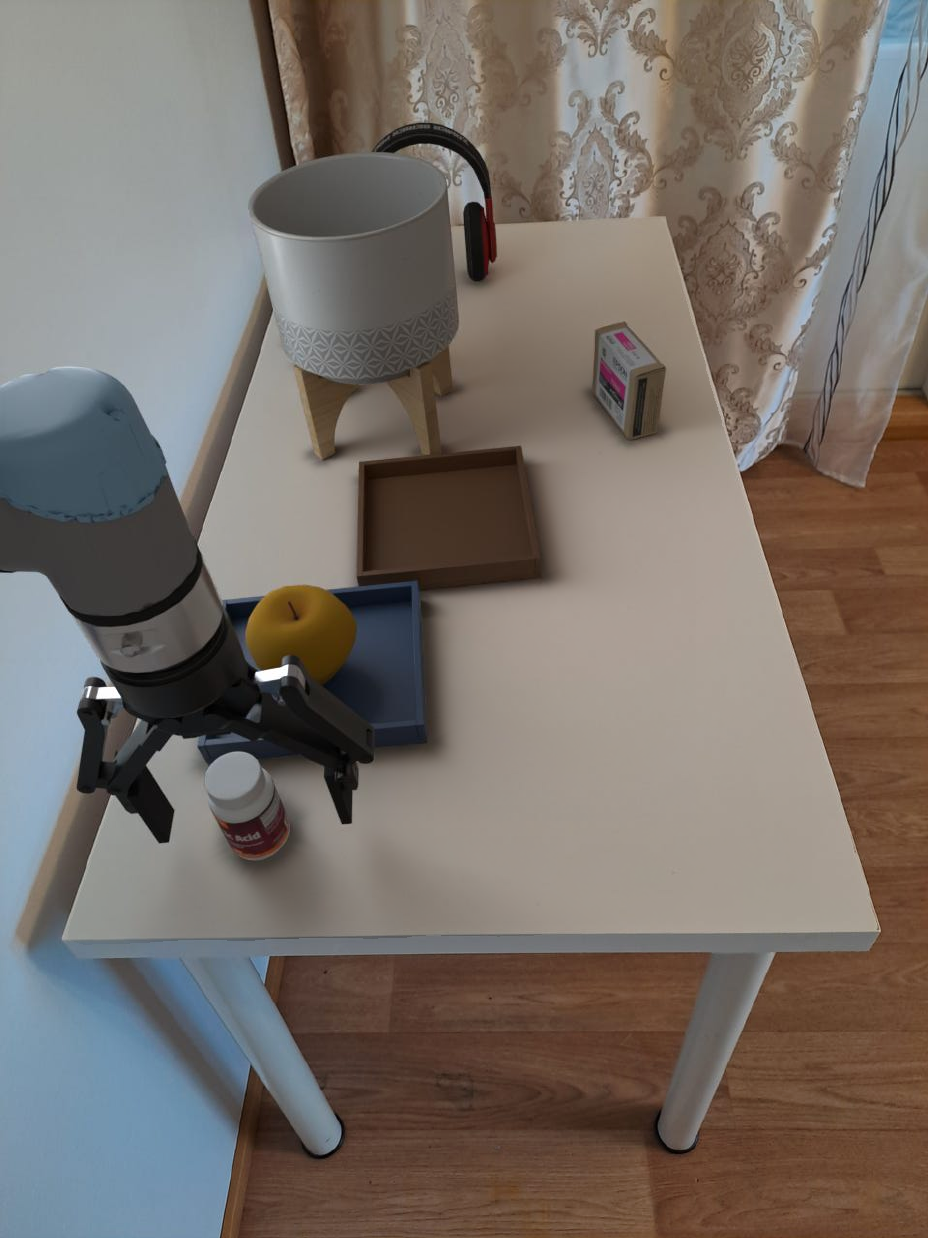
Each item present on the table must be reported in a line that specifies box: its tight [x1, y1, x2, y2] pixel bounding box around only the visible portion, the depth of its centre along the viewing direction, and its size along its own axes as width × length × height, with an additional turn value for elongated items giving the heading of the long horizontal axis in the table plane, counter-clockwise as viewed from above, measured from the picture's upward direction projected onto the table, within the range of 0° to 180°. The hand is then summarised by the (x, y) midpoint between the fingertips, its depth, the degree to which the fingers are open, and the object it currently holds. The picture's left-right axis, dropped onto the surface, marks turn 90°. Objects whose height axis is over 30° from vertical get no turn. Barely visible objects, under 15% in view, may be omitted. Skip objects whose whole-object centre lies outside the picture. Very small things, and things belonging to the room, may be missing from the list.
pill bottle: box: [203, 752, 291, 861], centre depth 66 cm, size 5×5×8 cm
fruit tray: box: [197, 581, 428, 765], centre depth 78 cm, size 18×16×3 cm
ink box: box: [591, 321, 667, 441], centre depth 99 cm, size 10×4×8 cm, turn 18°
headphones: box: [371, 122, 498, 282], centre depth 118 cm, size 18×10×20 cm, turn 92°
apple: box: [245, 584, 357, 685], centre depth 76 cm, size 9×9×9 cm
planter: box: [247, 151, 460, 461], centre depth 95 cm, size 19×19×26 cm
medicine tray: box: [355, 445, 542, 591], centre depth 90 cm, size 17×17×3 cm
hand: (257, 817), depth 67 cm, fingers open, 13 cm apart
